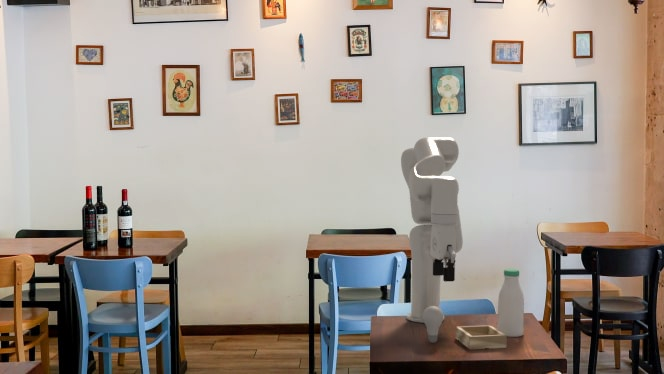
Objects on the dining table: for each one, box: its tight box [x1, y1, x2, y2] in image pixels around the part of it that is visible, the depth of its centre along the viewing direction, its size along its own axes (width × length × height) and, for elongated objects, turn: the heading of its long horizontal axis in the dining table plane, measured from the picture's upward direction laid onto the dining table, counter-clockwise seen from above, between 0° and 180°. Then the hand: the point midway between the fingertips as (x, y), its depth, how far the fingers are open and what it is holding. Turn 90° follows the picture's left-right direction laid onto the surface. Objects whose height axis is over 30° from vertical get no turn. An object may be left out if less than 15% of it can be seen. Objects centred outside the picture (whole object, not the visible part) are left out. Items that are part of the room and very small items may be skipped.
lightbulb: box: [423, 306, 445, 344], centre depth 211 cm, size 6×6×11 cm
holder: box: [455, 324, 508, 350], centre depth 212 cm, size 12×11×4 cm
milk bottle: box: [497, 268, 525, 338], centre depth 221 cm, size 8×8×20 cm
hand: (443, 278), depth 210 cm, fingers open, 9 cm apart
